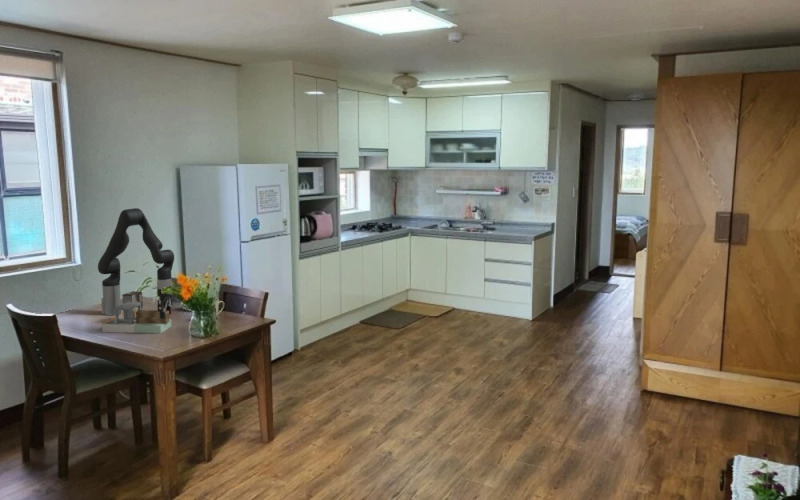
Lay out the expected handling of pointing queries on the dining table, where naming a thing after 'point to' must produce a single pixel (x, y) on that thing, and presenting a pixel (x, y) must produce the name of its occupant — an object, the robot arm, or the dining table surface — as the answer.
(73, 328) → the dining table surface
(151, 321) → the walnut bar
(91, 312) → the dining table surface
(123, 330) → the tunnel deck
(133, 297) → the coffee box
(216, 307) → the mug
